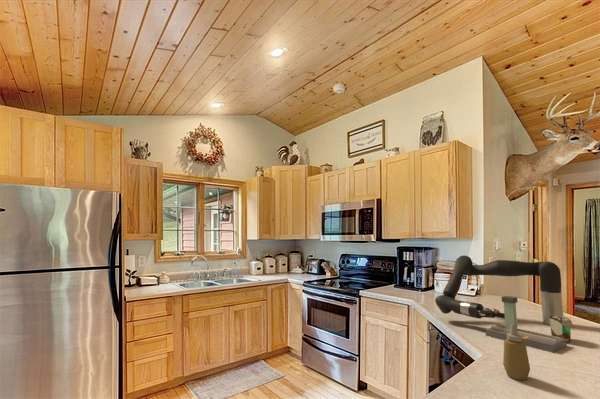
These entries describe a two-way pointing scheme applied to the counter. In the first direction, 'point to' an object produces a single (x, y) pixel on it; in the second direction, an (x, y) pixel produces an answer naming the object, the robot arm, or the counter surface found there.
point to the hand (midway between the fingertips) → (506, 316)
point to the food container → (560, 327)
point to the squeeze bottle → (515, 356)
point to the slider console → (529, 338)
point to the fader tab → (510, 311)
